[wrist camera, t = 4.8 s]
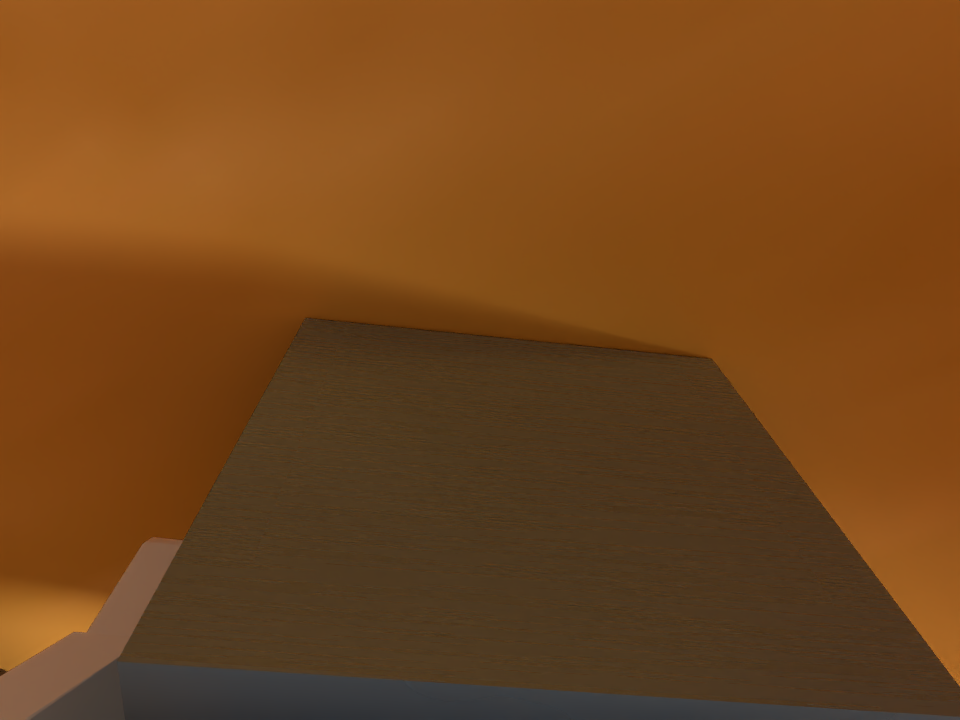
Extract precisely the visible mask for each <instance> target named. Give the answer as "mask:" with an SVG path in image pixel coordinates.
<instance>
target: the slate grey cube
mask: <svg viewBox="0 0 960 720" xmlns="http://www.w3.org/2000/svg"><path fill="white" fill-rule="evenodd" d="M117 667H118V674H119V681H120V688H121V695H122V702H123V709H124V716H125V720H960V687H959V685H958V684H957V683H956V681H955V680H954V679H953V677H952V676H951V675H950V674H949V672H948V671H947V670H946V668H945V667H944V666H943V664H942V663H941V662H940V660H939V659H938V658H937V656H936V655H935V654H934V652H933V651H932V650H931V648H930V647H929V646H928V644H927V643H926V642H925V640H924V639H923V638H922V636H921V635H920V634H919V632H918V631H917V630H916V628H915V627H914V626H913V625H912V623H911V622H910V621H909V619H908V618H907V617H906V615H905V614H904V613H903V611H902V610H901V609H900V607H899V606H898V605H897V603H896V602H895V601H894V599H893V598H892V597H891V595H890V594H889V593H888V591H887V590H886V589H885V587H884V586H883V585H882V583H881V582H880V581H879V579H878V578H877V577H876V576H875V574H874V573H873V572H872V570H871V569H870V568H869V566H868V565H867V564H866V562H865V561H864V560H863V558H862V557H861V556H860V554H859V553H858V552H857V550H856V549H855V548H854V546H853V545H852V544H851V542H850V541H849V540H848V538H847V537H846V536H845V534H844V533H843V532H842V530H841V529H840V528H839V526H838V525H837V524H836V523H835V521H834V520H833V519H832V517H831V516H830V515H829V513H828V512H827V511H826V509H825V508H824V507H823V505H822V504H821V503H820V501H819V500H818V499H817V497H816V496H815V495H814V493H813V492H812V491H811V489H810V488H809V487H808V485H807V484H806V483H805V481H804V480H803V479H802V477H801V476H800V475H799V474H798V472H797V471H796V470H795V468H794V467H793V466H792V464H791V463H790V462H789V460H788V459H787V458H786V456H785V455H784V454H783V452H782V451H781V450H780V448H779V447H778V446H777V444H776V443H775V442H774V440H773V439H772V438H771V436H770V435H769V434H768V432H767V431H766V430H765V428H764V427H763V426H762V424H761V423H760V422H759V421H758V419H757V418H756V417H755V415H754V414H753V413H752V411H751V410H750V409H749V407H748V406H747V405H746V403H745V402H744V401H743V399H742V398H741V397H740V395H739V394H738V393H737V391H736V390H735V389H734V387H733V386H732V385H731V383H730V382H729V381H728V379H727V378H726V377H725V375H724V374H723V373H722V372H721V370H720V369H719V368H718V366H717V365H716V364H715V362H714V361H713V360H712V359H707V358H697V357H687V356H677V355H667V354H657V353H647V352H638V351H628V350H618V349H608V348H598V347H588V346H578V345H568V344H558V343H548V342H538V341H529V340H519V339H509V338H499V337H489V336H479V335H469V334H459V333H449V332H439V331H429V330H420V329H410V328H400V327H390V326H380V325H370V324H360V323H350V322H340V321H330V320H320V319H311V318H305V320H304V322H303V323H302V325H301V327H300V329H299V331H298V332H297V334H296V336H295V338H294V340H293V342H292V343H291V345H290V347H289V349H288V351H287V352H286V354H285V356H284V358H283V360H282V362H281V363H280V365H279V367H278V369H277V371H276V372H275V374H274V376H273V378H272V380H271V382H270V383H269V385H268V387H267V389H266V391H265V392H264V394H263V396H262V398H261V400H260V402H259V403H258V405H257V407H256V409H255V411H254V413H253V414H252V416H251V418H250V420H249V422H248V423H247V425H246V427H245V429H244V431H243V433H242V434H241V436H240V438H239V440H238V442H237V443H236V445H235V447H234V449H233V451H232V453H231V454H230V456H229V458H228V460H227V462H226V463H225V465H224V467H223V469H222V471H221V473H220V474H219V476H218V478H217V480H216V482H215V483H214V485H213V487H212V489H211V491H210V493H209V494H208V496H207V498H206V500H205V502H204V503H203V505H202V507H201V509H200V511H199V513H198V514H197V516H196V518H195V520H194V522H193V524H192V525H191V527H190V529H189V531H188V533H187V534H186V536H185V538H184V540H183V542H182V544H181V545H180V547H179V549H178V551H177V553H176V554H175V556H174V558H173V560H172V562H171V564H170V565H169V567H168V569H167V571H166V573H165V574H164V576H163V578H162V580H161V582H160V584H159V585H158V587H157V589H156V591H155V593H154V594H153V596H152V598H151V600H150V602H149V604H148V605H147V607H146V609H145V611H144V613H143V614H142V616H141V618H140V620H139V622H138V624H137V625H136V627H135V629H134V631H133V633H132V635H131V636H130V638H129V640H128V642H127V644H126V645H125V647H124V649H123V651H122V653H121V655H120V656H119V658H118V660H117Z"/></svg>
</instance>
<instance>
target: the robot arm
mask: <svg viewBox="0 0 960 720" xmlns="http://www.w3.org/2000/svg"><path fill="white" fill-rule="evenodd" d="M182 542H183V540H177V539H167V538H158V537H151V538H150V539H149V540H147V541H146V542H144V543H143V544H142V545H141V547H140V549H139V550H138V552H137V553H136V555H135V556H134V558H133V560H132V561H131V563H130V564H129V566H128V568H127V569H126V571H125V572H124V574H123V575H122V577H121V579H120V580H119V582H118V583H117V585H116V586H115V588H114V590H113V591H112V593H111V594H110V596H109V598H108V599H107V601H106V602H105V604H104V605H103V607H102V609H101V610H100V612H99V613H98V615H97V617H96V618H95V620H94V621H93V623H92V624H91V626H90V628H89V629H88V631H87V632H86V633H84V632H73V633H71V634H69V635H68V636H66V637H64V638H63V639H61V640H59V641H58V642H56V643H55V644H53V645H51V646H50V647H48V648H46V649H45V650H43V651H41V652H40V653H38V654H36V655H35V656H33V657H31V658H30V659H28V660H26V661H25V662H23V663H21V664H20V665H18V666H16V667H15V668H13V669H11V670H10V671H8V672H7V673H5V674H3V675H2V676H0V720H125V716H124V709H123V702H122V695H121V688H120V681H119V674H118V667H117V660H118V658H119V656H120V655H121V653H122V651H123V649H124V647H125V645H126V644H127V642H128V640H129V638H130V636H131V635H132V633H133V631H134V629H135V627H136V625H137V624H138V622H139V620H140V618H141V616H142V614H143V613H144V611H145V609H146V607H147V605H148V604H149V602H150V600H151V598H152V596H153V594H154V593H155V591H156V589H157V587H158V585H159V584H160V582H161V580H162V578H163V576H164V574H165V573H166V571H167V569H168V567H169V565H170V564H171V562H172V560H173V558H174V556H175V554H176V553H177V551H178V549H179V547H180V545H181V544H182Z"/></svg>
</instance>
